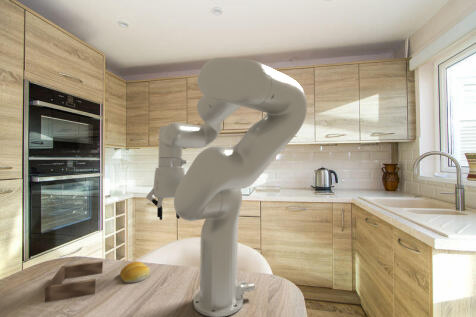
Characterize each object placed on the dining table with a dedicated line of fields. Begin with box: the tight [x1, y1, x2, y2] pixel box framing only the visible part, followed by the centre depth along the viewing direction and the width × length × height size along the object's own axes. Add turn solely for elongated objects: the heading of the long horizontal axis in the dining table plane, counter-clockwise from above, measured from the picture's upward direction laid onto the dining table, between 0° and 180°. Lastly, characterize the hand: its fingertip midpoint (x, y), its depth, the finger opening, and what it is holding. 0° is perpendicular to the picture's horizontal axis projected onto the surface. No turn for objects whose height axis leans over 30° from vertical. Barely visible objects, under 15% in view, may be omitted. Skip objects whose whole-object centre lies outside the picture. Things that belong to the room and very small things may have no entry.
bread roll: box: [119, 261, 151, 284], centre depth 74 cm, size 8×9×4 cm
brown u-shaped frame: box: [44, 260, 104, 303], centre depth 69 cm, size 11×14×4 cm
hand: (169, 217), depth 79 cm, fingers open, 4 cm apart
